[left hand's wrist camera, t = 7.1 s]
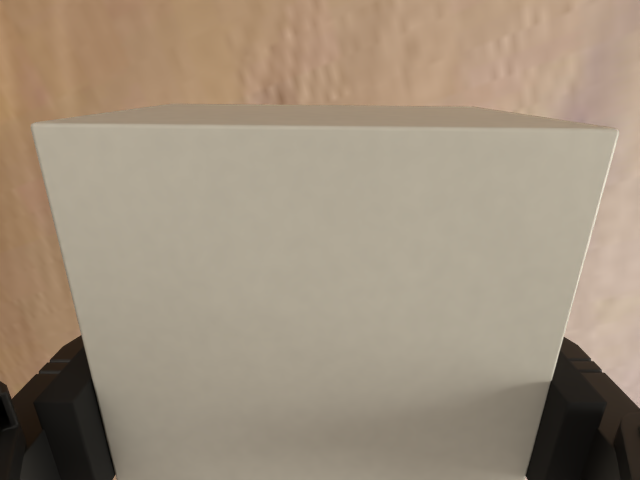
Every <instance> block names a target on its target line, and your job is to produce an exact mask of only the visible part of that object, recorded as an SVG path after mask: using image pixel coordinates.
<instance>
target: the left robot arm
mask: <svg viewBox="0 0 640 480" xmlns="http://www.w3.org/2000/svg"><path fill="white" fill-rule="evenodd" d="M114 476H115V470H114V466H113V462H112V458H111V454H110V450H109V446H108V442H107V437H106V433H105V429H104V425H103V421H102V417H101V413H100V409H99V405H98V401H97V397H96V392H95V388H94V384H93V380H92V376H91V372H90V368H89V364H88V360H87V356H86V352H85V347H84V343H83V339H82V335H81V336H79V337H78V338H76V339H74V340H73V341H71V342H70V343H68V344H66V345H65V346H63V347H62V348H61V349H60V350H59V351H58V352H57V353H56V354H55V355H54V356H53V357H52V358H51V359H50V362H49V363H47V364H46V365H45V366H44V367H43V368H42V369H41V370H40V371H39V374H36V375H35V376H34V377H33V378H32V379H31V380H30V381H29V382H28V383H27V384H26V385H25V386H24V387H23V388H22V389H21V390H20V391H19V392H18V393H17V394H16V395H15V396H14V398H13V399H11V396H10V394H9V391H8V388H7V385H5V384H4V383H2V382H1V381H0V480H113V478H114ZM526 477H527V479H528V480H640V408H639V407H638V406H637V405H636V404H635V403H634V402H633V401H632V400H631V399H630V398H629V397H628V396H627V395H626V394H625V393H624V392H623V391H622V390H621V389H620V388H619V387H618V386H617V385H616V384H615V383H614V382H613V381H612V380H611V379H610V378H609V377H608V376H607V375H606V374H605V373H602V370H601V369H600V368H599V367H598V366H597V364H596V363H595V362H594V361H591V358H590V357H589V356H588V355H587V354H586V353H585V352H584V351H583V350H582V349H581V348H580V347H579V346H578V345H576V344H575V343H573V342H572V341H570V340H568V339H567V338H565V337H563V341H562V345H561V348H560V352H559V356H558V359H557V363H556V367H555V370H554V374H553V378H552V381H551V382H550V386H549V390H548V394H547V398H546V401H545V405H544V409H543V413H542V417H541V420H540V424H539V428H538V432H537V436H536V439H535V443H534V447H533V451H532V454H531V458H530V462H529V466H528V469H527V473H526Z"/></svg>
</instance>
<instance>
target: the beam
mask: <svg viewBox="0 0 640 480" xmlns="http://www.w3.org/2000/svg"><path fill="white" fill-rule="evenodd" d="M31 131H32V135H33V139H34V143H35V147H36V151H37V155H38V159H39V163H40V167H41V172H42V176H43V180H44V184H45V188H46V192H47V196H48V200H49V204H50V208H51V212H52V217H53V221H54V225H55V229H56V233H57V237H58V241H59V245H60V249H61V253H62V257H63V262H64V266H65V270H66V274H67V278H68V282H69V286H70V290H71V294H72V298H73V302H74V307H75V311H76V315H77V319H78V323H79V327H80V331H81V335H82V339H83V343H84V347H85V352H86V356H87V360H88V364H89V368H90V372H91V376H92V380H93V384H94V388H95V392H96V397H97V401H98V405H99V409H100V413H101V417H102V421H103V425H104V429H105V433H106V437H107V442H108V446H109V450H110V454H111V458H112V462H113V466H114V470H115V474H116V478H117V480H525V477H526V473H527V469H528V466H529V462H530V458H531V454H532V451H533V447H534V443H535V439H536V436H537V432H538V428H539V424H540V420H541V417H542V413H543V409H544V405H545V401H546V398H547V394H548V390H549V386H550V382H551V381H552V378H553V374H554V370H555V367H556V363H557V359H558V356H559V352H560V348H561V345H562V341H563V337H564V334H565V330H566V326H567V323H568V319H569V315H570V312H571V308H572V304H573V301H574V297H575V293H576V289H577V286H578V282H579V278H580V275H581V271H582V267H583V264H584V260H585V256H586V253H587V249H588V245H589V242H590V238H591V234H592V231H593V227H594V223H595V220H596V216H597V212H598V209H599V205H600V201H601V198H602V194H603V190H604V187H605V183H606V179H607V176H608V172H609V168H610V165H611V161H612V157H613V154H614V150H615V146H616V143H617V139H618V135H619V130H618V129H616V128H611V127H605V126H598V125H591V124H585V123H578V122H572V121H565V120H558V119H552V118H545V117H538V116H532V115H525V114H518V113H512V112H505V111H498V110H492V109H485V108H478V107H450V106H349V105H249V104H167V105H159V106H152V107H145V108H137V109H130V110H123V111H115V112H108V113H100V114H93V115H86V116H78V117H71V118H63V119H56V120H49V121H41V122H35V123H33V124H31Z"/></svg>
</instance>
